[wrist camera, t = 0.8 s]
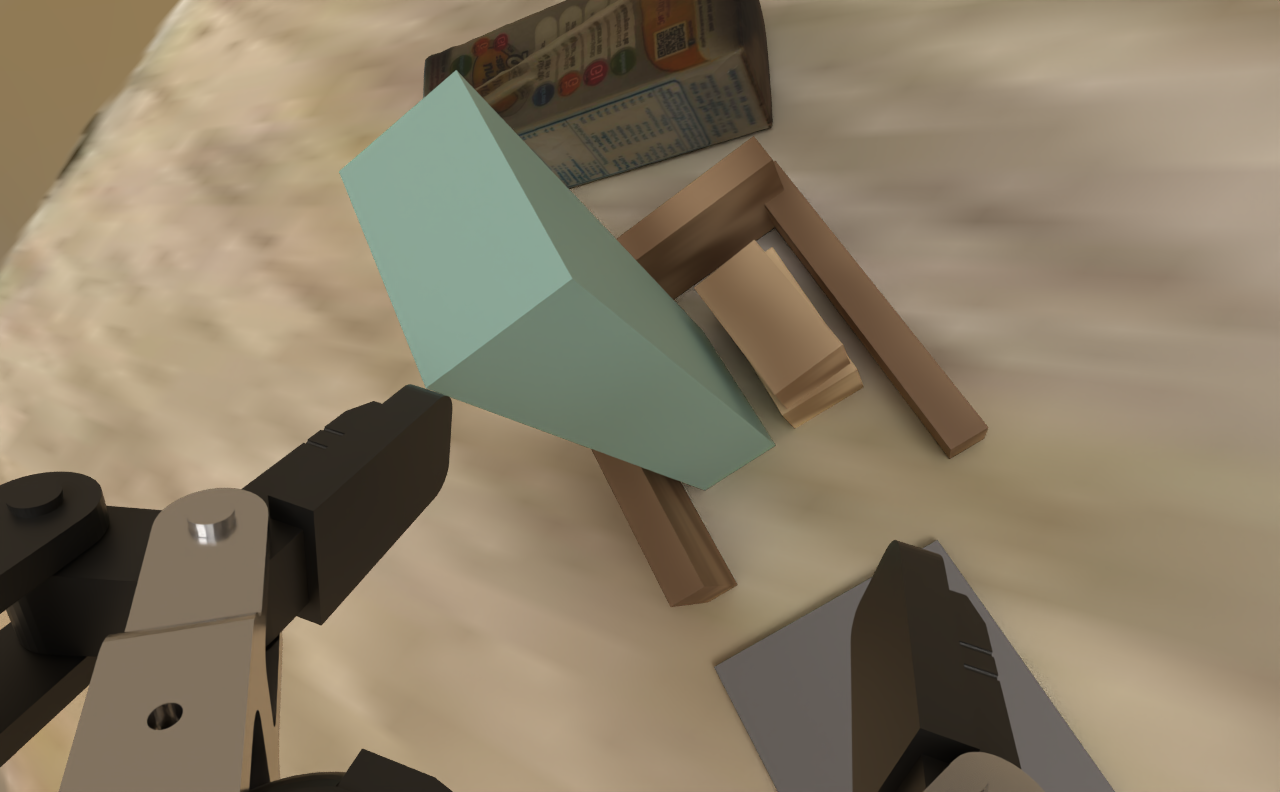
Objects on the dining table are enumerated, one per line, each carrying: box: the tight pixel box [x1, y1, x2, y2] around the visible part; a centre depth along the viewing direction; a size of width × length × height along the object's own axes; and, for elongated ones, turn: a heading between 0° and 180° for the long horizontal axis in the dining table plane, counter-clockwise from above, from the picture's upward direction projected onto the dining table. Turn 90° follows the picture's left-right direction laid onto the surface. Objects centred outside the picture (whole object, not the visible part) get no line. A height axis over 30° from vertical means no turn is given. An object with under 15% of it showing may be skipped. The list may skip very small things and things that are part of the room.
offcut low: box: [748, 247, 864, 428], centre depth 31 cm, size 4×7×3 cm, turn 27°
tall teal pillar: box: [339, 70, 776, 490], centre depth 24 cm, size 4×7×20 cm, turn 29°
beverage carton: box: [423, 0, 772, 189], centre depth 37 cm, size 8×19×7 cm, turn 93°
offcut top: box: [694, 240, 850, 409], centre depth 29 cm, size 3×6×3 cm, turn 33°
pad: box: [714, 540, 1115, 792], centre depth 27 cm, size 11×11×1 cm
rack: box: [592, 136, 988, 607], centre depth 31 cm, size 14×16×5 cm
